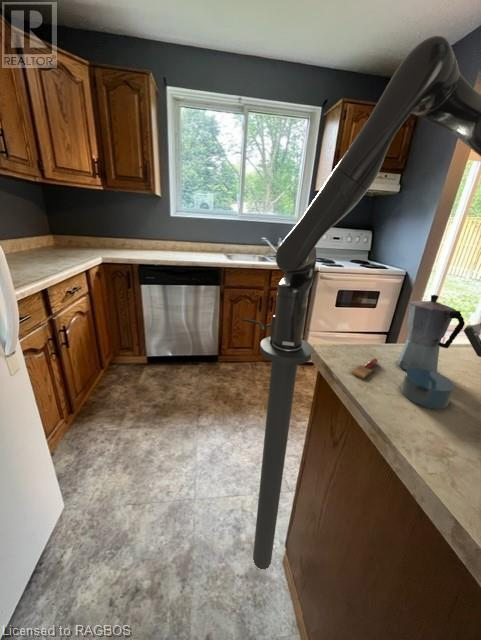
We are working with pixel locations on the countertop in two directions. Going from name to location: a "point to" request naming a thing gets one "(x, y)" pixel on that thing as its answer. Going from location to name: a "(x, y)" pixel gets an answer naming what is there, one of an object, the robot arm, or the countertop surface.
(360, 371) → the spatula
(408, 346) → the moka pot
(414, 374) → the pot
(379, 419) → the countertop surface
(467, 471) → the countertop surface
